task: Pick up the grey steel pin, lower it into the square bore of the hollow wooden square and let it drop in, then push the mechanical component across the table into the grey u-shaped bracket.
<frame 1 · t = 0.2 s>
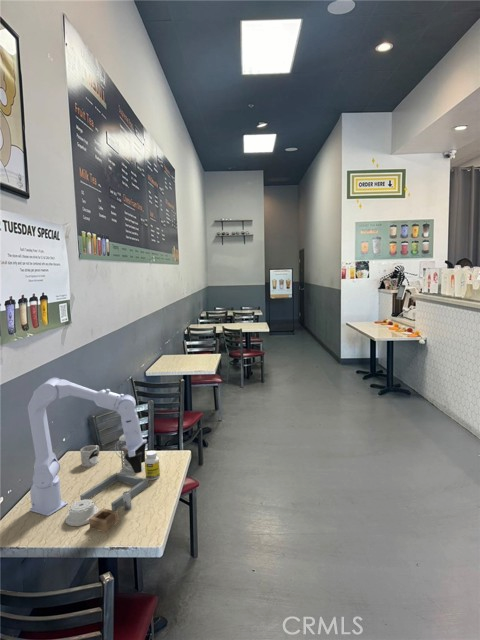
hand: (140, 467, 139), 10 cm above the table, tool pointing down, fingers open, 7 cm apart
mug: (92, 462, 170), on the table
mechanical component: (82, 518, 129), on the table
pin: (127, 508, 132), on the table
hollow wooden square: (104, 524, 124), on the table
supplement bottle: (153, 477, 153), on the table
french press: (130, 470, 161), on the table
grey u-shaped bracket: (115, 493, 142), on the table
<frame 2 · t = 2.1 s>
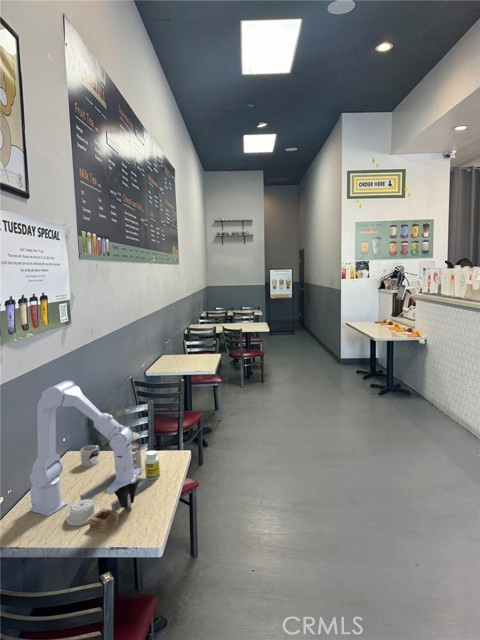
hand: (127, 504, 132), 1 cm above the table, tool pointing down, fingers closed on pin, 2 cm apart
pin: (127, 508, 132), on the table, touching gripper
everything else where it was.
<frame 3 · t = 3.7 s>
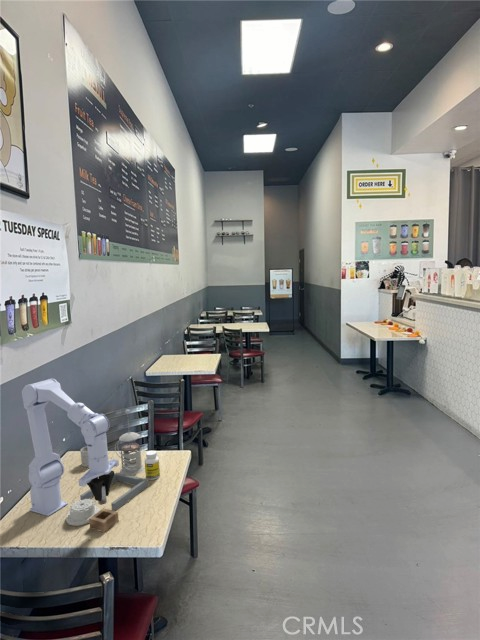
hand: (101, 497, 123), 9 cm above the table, tool pointing down, fingers closed on pin, 2 cm apart
pin: (102, 502, 123), point 7 cm above the table, touching gripper
everything else where it was.
when the fingers open (3 cm above the table, at t = 5.1 s): pin drops 2 cm, resting in hollow wooden square.
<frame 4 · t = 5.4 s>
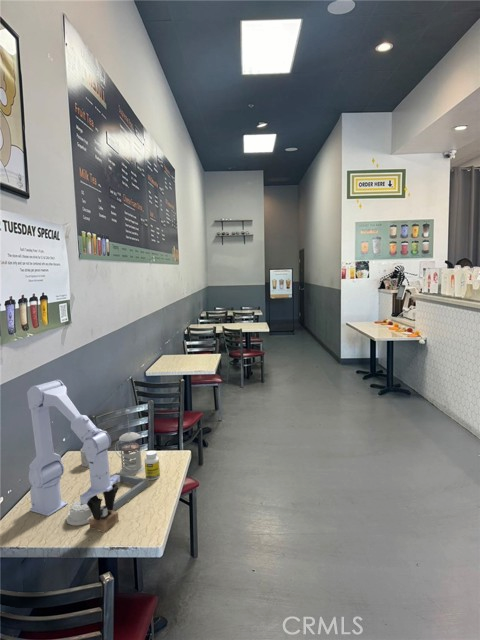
hand: (103, 514, 123), 3 cm above the table, tool pointing down, fingers open, 5 cm apart
pin: (104, 524, 124), resting in hollow wooden square
everything else where it was.
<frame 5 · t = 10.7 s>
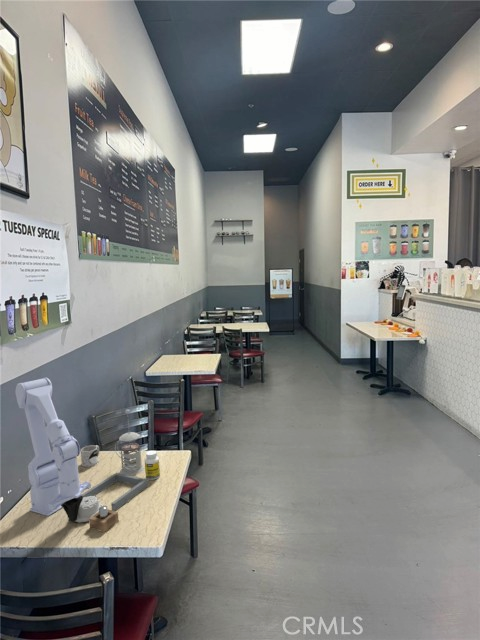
hand: (73, 520, 125), 1 cm above the table, tool pointing down, fingers closed
mechanical component: (87, 514, 130), on the table, touching gripper
everything else where it was.
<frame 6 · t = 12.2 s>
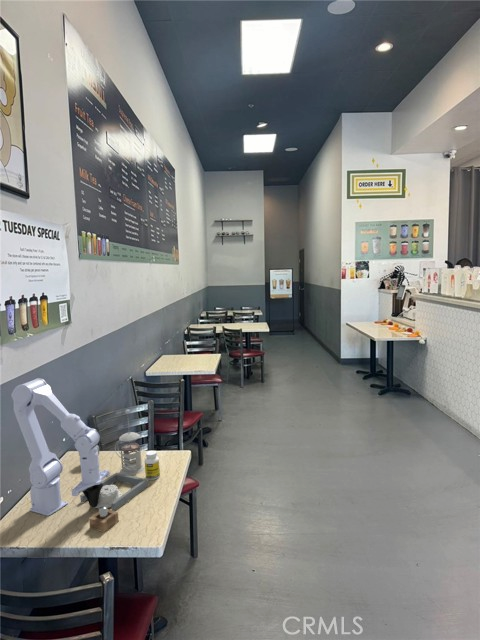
hand: (93, 506, 133), 1 cm above the table, tool pointing down, fingers closed
mechanical component: (107, 502, 138), on the table, touching gripper
everything else where it was.
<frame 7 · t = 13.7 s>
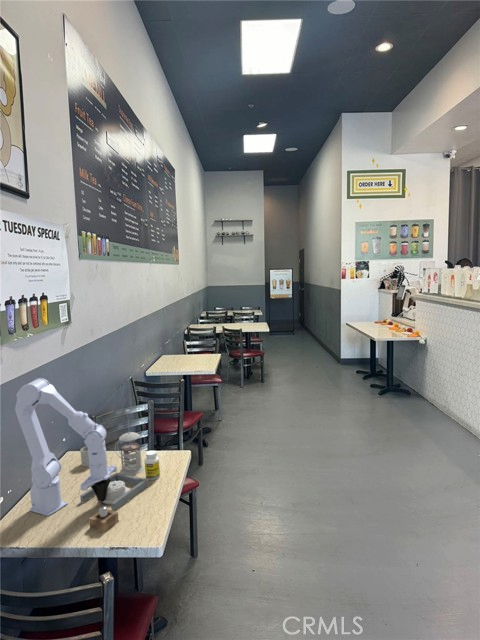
hand: (101, 500, 136), 1 cm above the table, tool pointing down, fingers closed
mechanical component: (115, 497, 141), on the table
everything else where it was.
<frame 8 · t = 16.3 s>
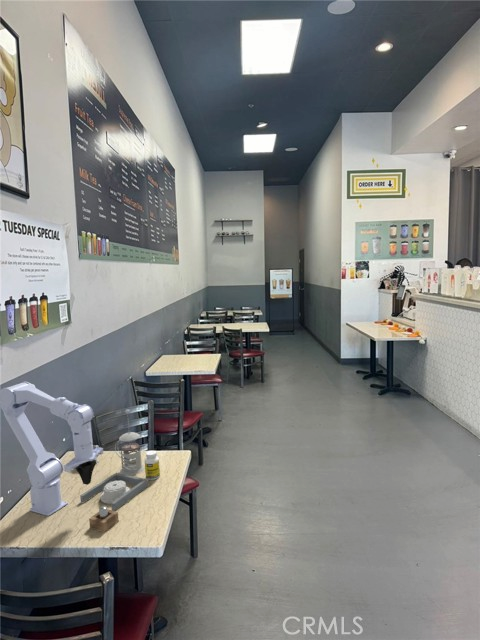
hand: (86, 483, 130), 10 cm above the table, tool pointing down, fingers closed
nothing on the table moved.
at the end: mechanical component inside the target area on the grey u-shaped bracket (1.5 cm from its centre), point -0.5 cm above the grey u-shaped bracket's base; pin 0.1 cm off-centre on the hollow wooden square, point 0.0 cm above the hollow wooden square's base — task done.
